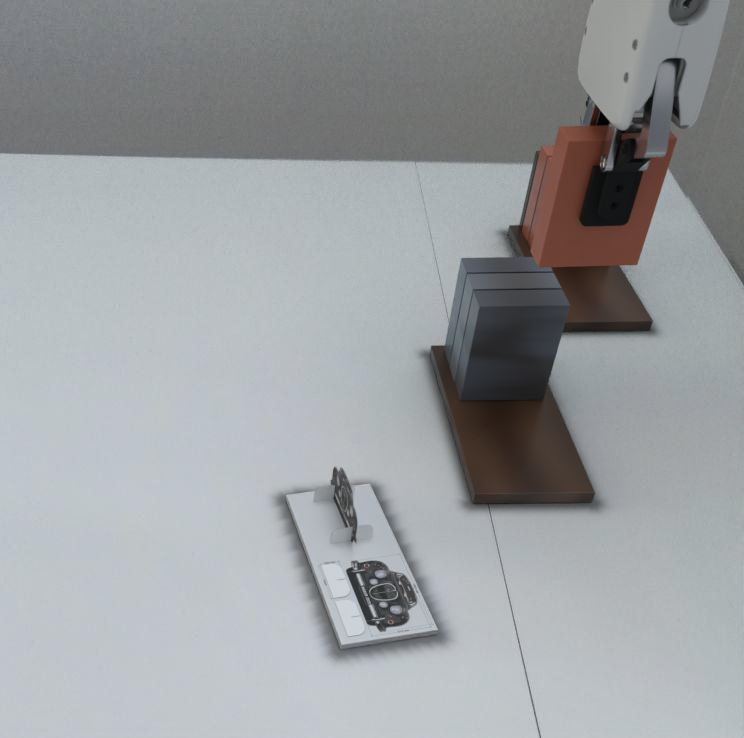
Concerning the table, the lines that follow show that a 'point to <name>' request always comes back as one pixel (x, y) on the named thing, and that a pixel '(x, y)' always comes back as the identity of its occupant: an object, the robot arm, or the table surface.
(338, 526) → the car cutout
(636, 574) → the table surface
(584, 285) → the terracotta shelf
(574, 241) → the terracotta book
